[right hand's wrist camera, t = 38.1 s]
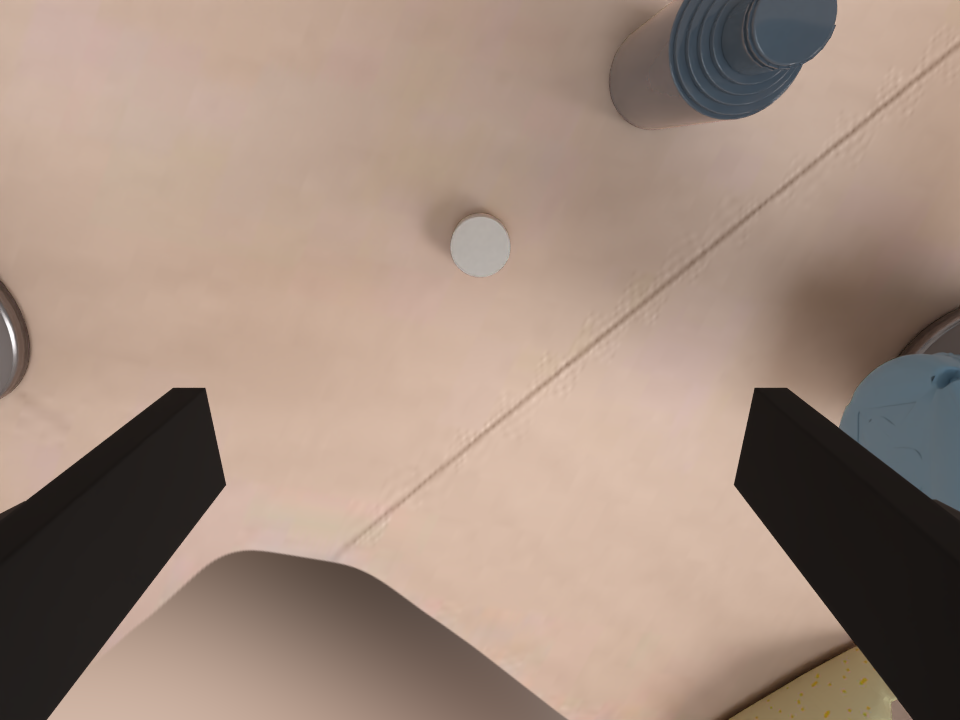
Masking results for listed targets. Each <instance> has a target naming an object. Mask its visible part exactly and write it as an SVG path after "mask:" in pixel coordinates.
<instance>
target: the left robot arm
mask: <svg viewBox="0 0 960 720" xmlns="http://www.w3.org/2000/svg"><path fill="white" fill-rule="evenodd" d="M839 428H840V429H841V430H842V431H844V432H845V433H846V434H847V435H849V436H850V437H851V438H853V439H854V440H855V441H857V442H858V443H859V444H861V445H862V446H863V447H864V448H866V449H867V450H868V451H870V452H871V453H872V454H874V455H875V456H876V457H877V458H879V459H880V460H881V461H883V462H884V463H885V464H887V465H888V466H889V467H890V468H892V469H893V470H894V471H896V472H897V473H898V474H900V475H901V476H902V477H903V478H905V479H906V480H907V481H909V482H910V483H911V484H913V485H914V486H915V487H917V488H918V489H919V490H920V491H922V492H923V493H924V494H926V495H927V496H928V497H930V498H931V499H936V500H938V501H940V502H942V503H944V504H946V505H948V506H950V507H952V508H954V509H956V510H958V511H960V308H959V309H956V310H954V311H952V312H950V313H948V314H946V315H945V316H943V317H941V318H940V319H938V320H937V321H935V322H934V323H932V324H931V325H929V326H928V327H927V328H926V329H924V330H923V331H922V332H921V333H920V334H919V335H917V336H916V337H915V338H914V339H913V340H912V341H911V342H910V344H909V345H908V346H907V347H906V348H905V349H904V351H903V352H902V353H901V354H900V356H899V357H897V358H894V359H892V360H890V361H888V362H886V363H884V364H882V365H880V366H879V367H877V368H876V369H875V370H874V371H872V372H871V373H870V374H869V375H868V376H867V377H866V378H865V379H864V380H863V381H862V382H861V383H860V385H859V386H858V387H857V388H856V390H855V392H854V394H853V397H852V399H851V402H850V403H849V405H847V406H846V408H845V410H844V413H843V416H842V419H841V422H840V426H839Z"/></svg>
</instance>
